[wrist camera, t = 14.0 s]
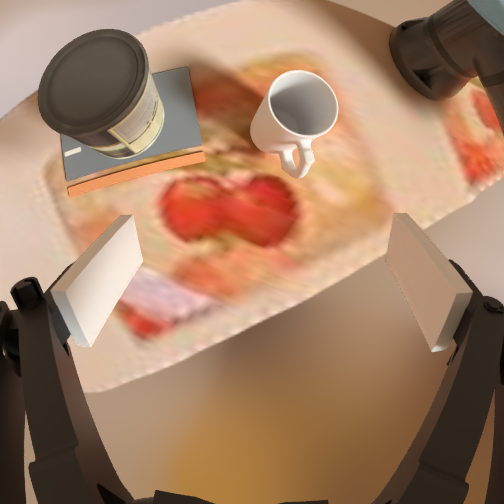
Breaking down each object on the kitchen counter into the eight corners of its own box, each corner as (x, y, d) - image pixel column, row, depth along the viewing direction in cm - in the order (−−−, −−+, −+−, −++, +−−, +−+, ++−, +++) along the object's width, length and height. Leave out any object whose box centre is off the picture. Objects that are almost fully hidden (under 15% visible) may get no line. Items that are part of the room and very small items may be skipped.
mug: (244, 109, 36) (262, 70, 24) (295, 105, 37) (330, 70, 25) (255, 186, 37) (279, 177, 26) (306, 180, 38) (349, 170, 27)
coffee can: (101, 173, 34) (49, 157, 20) (80, 104, 32) (30, 63, 18) (177, 139, 35) (163, 101, 21) (152, 71, 33) (132, 11, 19)
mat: (188, 67, 34) (188, 66, 33) (202, 145, 36) (202, 144, 35) (60, 105, 31) (58, 103, 31) (67, 181, 33) (66, 181, 33)
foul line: (203, 151, 36) (203, 151, 35) (205, 161, 36) (205, 160, 36) (68, 188, 33) (68, 187, 33) (70, 197, 34) (69, 197, 33)
